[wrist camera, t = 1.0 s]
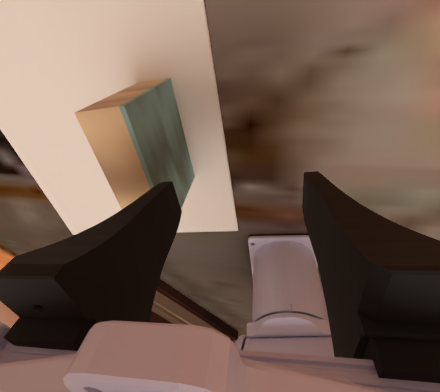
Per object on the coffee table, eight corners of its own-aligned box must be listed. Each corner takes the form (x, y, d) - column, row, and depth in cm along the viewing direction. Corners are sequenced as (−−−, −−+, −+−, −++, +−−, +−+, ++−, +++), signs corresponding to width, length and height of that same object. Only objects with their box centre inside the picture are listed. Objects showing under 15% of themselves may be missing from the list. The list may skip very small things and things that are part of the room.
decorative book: (172, 398, 46) (18, 327, 35) (182, 354, 52) (54, 283, 41) (251, 385, 36) (74, 284, 26) (252, 333, 42) (109, 235, 32)
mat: (238, 228, 28) (238, 231, 27) (74, 232, 32) (72, 234, 32) (193, -70, 14) (192, -72, 14) (-79, 6, 18) (-85, 6, 18)
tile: (194, 176, 24) (171, 232, 17) (166, 178, 24) (133, 233, 18) (170, 78, 19) (124, 105, 12) (135, 83, 19) (74, 112, 13)
